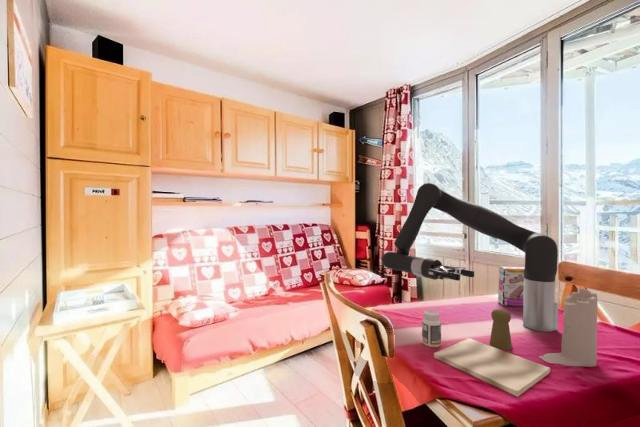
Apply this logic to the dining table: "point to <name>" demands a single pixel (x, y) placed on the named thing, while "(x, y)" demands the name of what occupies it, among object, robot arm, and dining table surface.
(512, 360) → the birch board
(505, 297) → the candy bar box
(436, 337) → the pill bottle
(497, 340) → the cork
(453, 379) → the dining table surface
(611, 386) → the dining table surface
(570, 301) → the candle
